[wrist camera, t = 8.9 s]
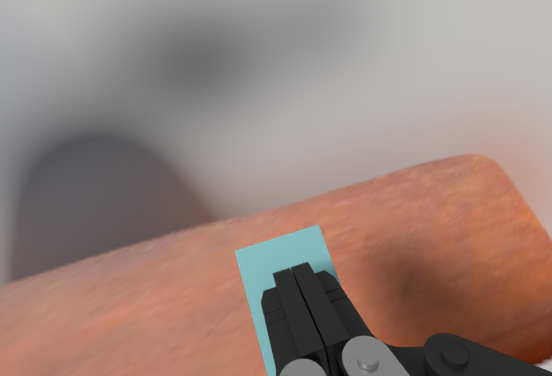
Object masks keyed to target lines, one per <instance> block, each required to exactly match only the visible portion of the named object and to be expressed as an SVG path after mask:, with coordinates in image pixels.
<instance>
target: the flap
mask: <svg viewBox="0 0 552 376" xmlns="http://www.w3.org/2000/svg"><path fill="white" fill-rule="evenodd" d="M235 253H236V257H237V261H238V265H239V269H240V272H241V276H242V280H243V284H244V288H245V291H246V295H247V299H248V303H249V306H250V310H251V314H252V318H253V322H254V325H255V329H256V333H257V337H258V341H259V344H260V348H261V352H262V356H263V360H264V363H265V367H266V371H267V375H268V376H276V367H275V363H274V358H273V354H272V350H271V345H270V341H269V336H268V332H267V328H266V323H265V319H264V315H263V310H262V306H261V299H262V295H263V291H264V290H267V289H270V288H273V287H276V285H275V281H274V278H273V274H272V273H275V272H278V271H281V270H284V269H287V268H290V269H291V267H293V266H296V265H299V264H302V263H305V262H308V263H309V264H310V266H311V268H312V270H313V271H314V273H317V272H320V271H323V270H325V271H327V272H328V273H330V274H331V275H333V276H334V277H335V278H336V280H337V281H338V283H339V284H340V282H339V279H338V277H337V274H336V271H335V269H334V266H333V263H332V260H331V258H330V255H329V252H328V250H327V247H326V244H325V241H324V239H323V236H322V233H321V231H320V228H319V225H315V226H312V227H309V228H306V229H302V230H299V231H296V232H293V233H290V234H287V235H284V236H280V237H277V238H274V239H271V240H268V241H265V242H261V243H258V244H255V245H252V246H249V247H246V248H242V249H239V250H236V251H235ZM340 286H341V285H340Z"/></svg>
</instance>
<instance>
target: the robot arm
mask: <svg viewBox="0 0 552 376" xmlns="http://www.w3.org/2000/svg"><path fill="white" fill-rule="evenodd" d="M272 274H273V278H274V281H275V285H276V287H273V288H270V289H267V290H264V291H263V295H262V299H261V306H262V310H263V315H264V319H265V323H266V328H267V332H268V336H269V341H270V345H271V350H272V354H273V358H274V363H275V367H276V376H552V372H550V371H547V370H545V369H542V368H539V367H537V366H534V365H532V364H529V363H526V362H524V361H521V360H519V359H516V358H513V357H511V356H508V355H506V354H503V353H501V352H498V351H495V350H493V349H490V348H488V347H485V346H482V345H480V344H477V343H475V342H472V341H469V340H467V339H464V338H462V337H459V336H456V335H453V334H447V333H440V334H435V335H433V336H431V337H430V338H428V340H427V341H426V343H425V346H424V347H395V346H391V345H388V344H385V343H383V342H382V341H380V340H378V339H377V338H376V337H375V336H374V335H373V334H372V333H371V332H370V330H369V329H368V327H367V326H366V324H365V323H364V321H363V320H362V318H361V317H360V315H359V313H358V312H357V310H356V309H355V307H354V306H353V304H352V303H351V301H350V300H349V298H348V297H347V295H346V293H345V292H344V290H343V289H342V288H341V286H340V284H339V283H338V281H337V280H336V278H335V277H334V276H333V275H331V274H330V273H328V272H327V271H325V270H323V271H320V272H317V273H314V271H313V270H312V268H311V266H310V264H309V263H308V262H305V263H302V264H299V265H296V266H293V267H291V269H290V268H287V269H284V270H281V271H278V272H275V273H272Z"/></svg>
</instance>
